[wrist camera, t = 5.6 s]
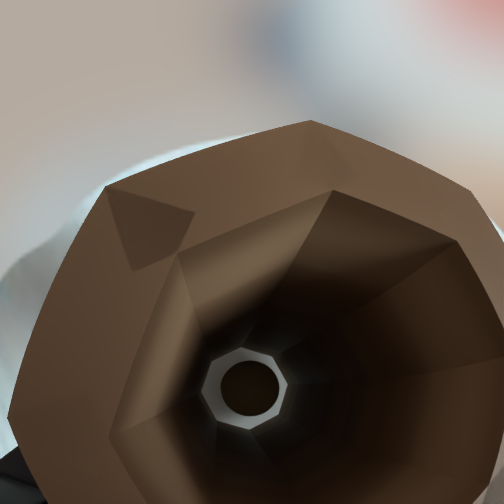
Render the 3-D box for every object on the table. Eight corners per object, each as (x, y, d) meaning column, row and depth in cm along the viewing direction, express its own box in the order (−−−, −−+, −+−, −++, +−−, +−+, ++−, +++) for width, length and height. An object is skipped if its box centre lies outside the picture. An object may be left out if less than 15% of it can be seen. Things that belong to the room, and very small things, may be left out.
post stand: (329, 452, 15) (368, 472, 10) (161, 465, 13) (141, 495, 9) (314, 299, 19) (346, 270, 14) (154, 305, 18) (131, 276, 13)
